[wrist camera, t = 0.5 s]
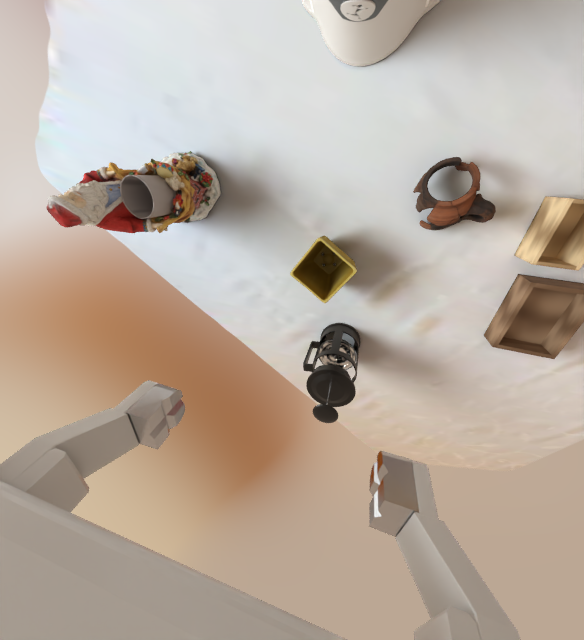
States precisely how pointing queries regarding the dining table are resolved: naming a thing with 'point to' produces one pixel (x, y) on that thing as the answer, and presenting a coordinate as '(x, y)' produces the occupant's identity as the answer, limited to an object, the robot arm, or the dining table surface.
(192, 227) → the dining table surface
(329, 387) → the french press
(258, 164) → the dining table surface
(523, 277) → the big crate
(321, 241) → the flower pot
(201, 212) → the santa figurine
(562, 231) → the small crate
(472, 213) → the pottery mug
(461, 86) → the dining table surface
